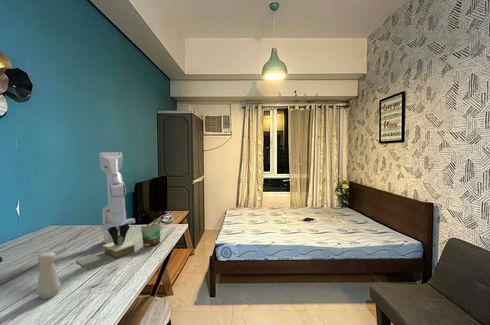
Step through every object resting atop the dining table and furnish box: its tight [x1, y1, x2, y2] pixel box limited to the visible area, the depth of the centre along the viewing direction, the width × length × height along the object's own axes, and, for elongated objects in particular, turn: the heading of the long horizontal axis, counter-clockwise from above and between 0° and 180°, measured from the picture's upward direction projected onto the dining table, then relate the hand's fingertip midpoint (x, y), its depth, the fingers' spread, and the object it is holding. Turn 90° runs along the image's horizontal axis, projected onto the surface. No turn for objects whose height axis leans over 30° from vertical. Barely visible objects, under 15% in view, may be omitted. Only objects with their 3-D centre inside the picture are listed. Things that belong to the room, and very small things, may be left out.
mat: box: [75, 252, 117, 271], centre depth 103 cm, size 12×10×1 cm
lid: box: [102, 235, 136, 252], centre depth 112 cm, size 11×9×4 cm
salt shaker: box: [36, 251, 61, 300], centre depth 79 cm, size 6×6×13 cm
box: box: [103, 245, 135, 259], centre depth 112 cm, size 10×8×3 cm
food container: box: [140, 219, 163, 248], centre depth 122 cm, size 12×6×10 cm, turn 168°
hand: (119, 243), depth 112 cm, fingers closed on lid, 2 cm apart
